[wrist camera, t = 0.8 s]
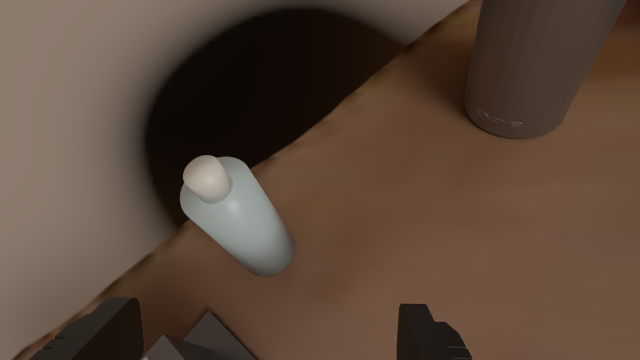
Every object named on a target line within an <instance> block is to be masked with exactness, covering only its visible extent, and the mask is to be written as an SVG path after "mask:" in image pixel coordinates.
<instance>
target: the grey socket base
mask: <svg viewBox="0 0 640 360" xmlns="http://www.w3.org/2000/svg"><path fill="white" fill-rule="evenodd" d="M140 360H258V359H257V358H256V357H255V356H254V355H253V354H252V353H251V352H250V351H249V350H248V349H247V348H246V347H245V346H244V345H243V344H242V343H241V341H240V340H239V339H238V338H237V337H236V336H235V335H234V334H233V333H232V332H231V331H230V330H229V329H228V328H227V327H226V326H225V325H224V324H223V323H222V322H221V321H220V320H219V319H218V318H217V317H216V315H215V314H214V313H212V312H210V311H208V312H207V313H206V314H205V315H204V317H203V318H202V319H201V320H200V321H199V322H198V323H197V324H196V326H195V327H194V328H193V329H192V330H191V331H190V332H189V334H188V335H187V336H186V337H185V338H184V339H183V340H181V339H177V338H174V337H171V336H168V335H165V334H163V335H162V336H161V337H160V338H159V340H158V341H157V342H156V343H155V344H154V345H153V346H152V347H151V348H150V349H149V351H148V352H147V353H146V354H145V355H144V356H143V357H142V358H141V359H140Z"/></svg>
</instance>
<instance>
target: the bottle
mask: <svg viewBox="0 0 640 360" xmlns="http://www.w3.org/2000/svg"><path fill="white" fill-rule="evenodd" d="M183 180H184V182H185V183H184V185H183V187H182V190H181V194H180V203H181V207H182V209H183V211H184V213H185V214H186V215H187V216H188V217H189V218H190V219H191V220H193V221H194V222H195V223H196V224H197V225H198V226H199V227H200V228H202V229H203V230H204V231H205V232H206V233H207V234H208V235H209V236H211V237H212V238H213V239H214V240H215V241H216V242H217V243H218V244H220V245H221V246H222V247H223V248H224V249H225V250H226V251H227V252H229V253H230V254H231V255H232V256H233V257H234V258H235V259H236V260H238V261H239V262H240V263H241V264H242V265H243V266H244V267H245V268H247V269H248V270H249V271H250V272H251V273H253V274H255V275H258V276H264V277H266V276H272V275H275V274H277V273H279V272H281V271H282V270H283V269H285V268H286V267H287V266H288V264H289V263H290V262H291V260H292V258H293V255H294V252H295V241H294V238H293V236H292V234H291V232H290V231H289V229H288V228H287V226H286V225H285V223H284V222H283V220H282V219H281V217H280V216H279V214H278V213H277V211H276V209H275V208H274V206H273V205H272V203H271V202H270V200H269V199H268V197H267V196H266V194H265V193H264V191H263V190H262V188H261V187H260V185H259V183H258V182H257V180H256V179H255V177H254V176H253V174H252V173H251V171H250V170H249V168H248V167H247V166H246V164H245V163H243V162H242V161H241V160H239V159H236V158H232V157H219V158H215V157H213V156H210V155H204V156H200V157H198V158H196V159H194V160H193V161H191V162H190V163H189V164H188V166H187V167H186V168H185V171H184V174H183Z"/></svg>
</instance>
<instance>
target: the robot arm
mask: <svg viewBox="0 0 640 360" xmlns="http://www.w3.org/2000/svg"><path fill="white" fill-rule="evenodd" d="M625 2H626V0H482V2H481V8H480V13H479V19H478V24H477V30H476V36H475V41H474V47H473V52H472V58H471V63H470V68H469V73H468V79H467V85H466V90H465V96H464V106H465V110H466V112H467V114H468V116H469V117H470V119H471V120H472V121H473V122H474V123H475V124H476V125H478V126H479V127H480V128H482V129H484V130H485V131H487V132H489V133H492V134H495V135H498V136H501V137H508V138H530V137H536V136H539V135H542V134H545V133H547V132H549V131H550V130H552V129H554V128H555V127H556V126H557V125H558V124H560V123H561V121H562V119H563V118H564V116H565V114H566V113H567V111H568V109H569V107H570V105H571V103H572V101H573V99H574V98H575V96H576V94H577V92H578V90H579V89H580V87H581V85H582V83H583V81H584V79H585V77H586V75H587V74H588V72H589V70H590V68H591V66H592V64H593V62H594V60H595V58H596V57H597V55H598V53H599V51H600V49H601V47H602V45H603V43H604V42H605V40H606V38H607V36H608V34H609V32H610V30H611V28H612V27H613V25H614V23H615V21H616V19H617V17H618V15H619V13H620V11H621V10H622V8H623V6H624V4H625ZM143 347H144V341H143V332H142V323H141V314H140V306H139V302H138V300H137V299H136V298H121V297H110V298H107V299H106V300H105V301H104V302H103V303H102V304H101V305H99V306H98V307H97V308H96V309H95V310H94V311H93V312H92V313H91V314H87V315H85V316H83V317H82V318H80V319H78V320H76V321H74V322H72V323H71V324H69V325H68V326H67V327H66V328H64V329H63V330H62V331H61V332H60V333H59V334H57V335H56V336H55V339H52V340H51V341H49V342H48V343H47V344H46V345H45V346H44V347H43V349H42V350H39V351H38V352H37V353H36V354H34V355H33V356H32V357H31V358H30V359H29V360H140V359H141V357H142V353H143ZM397 360H472V356H471V355H470V353H469V351H468V349H466V346H465V344H464V342H463V340H462V339H461V337H460V335H459V333H458V332H456V331H455V330H454V329H453V328H452V327H451V326H449V325H448V324H447V323H446V322H434V320H433V317H432V315H431V313H430V311H429V309H428V307H427V305H426V304H400V307H399V319H398V335H397Z"/></svg>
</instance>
